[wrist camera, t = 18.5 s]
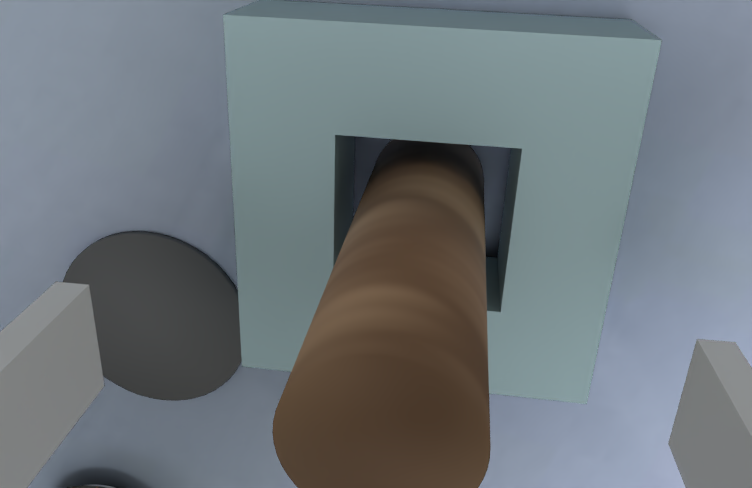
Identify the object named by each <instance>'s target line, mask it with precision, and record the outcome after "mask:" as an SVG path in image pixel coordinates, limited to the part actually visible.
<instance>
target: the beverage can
mask: <svg viewBox="0 0 752 488" xmlns="http://www.w3.org/2000/svg"><path fill="white" fill-rule="evenodd" d="M67 488H115V487H111V486H106V485H84V486H73V487H67Z"/></svg>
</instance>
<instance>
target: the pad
mask: <svg viewBox="0 0 752 488" xmlns="http://www.w3.org/2000/svg"><path fill="white" fill-rule="evenodd" d="M63 282H65V283H76V284H87V285H89V288H90V295H91V301H92V308H93V314H94V321H95V327H96V334H97V340H98V347H99V353H100V360H101V366H102V373H103V376H104V377H106V378H107V379H109V380H110V381H112V382H113V383H115V384H116V385H118V386H120V387H122V388H124V389H126V390H128V391H131V392H133V393H136V394H139V395H142V396H146V397H149V398H154V399H160V400H186V399H192V398H197V397H200V396H203V395H206V394H208V393H210V392H212V391H214V390H216V389H217V388H219V387H220V386H222V385H223V384H224V383H225V382H227V381H228V380H229V379H230V378H231V376H232V375H233V374H234V373H235V371H236V370H237V368H238V366H239V365H240V363H241V361H242V358H241V339H240V321H239V302H238V291H237V290H236V288H235V286H234V284H233V283H232V282H231V280H230V279H229V278H228V276H227V275H226V274H225V273H224V272H223V271H222V270H221V268H220V267H219V266H218V265H217V264H216V263H214V262H213V261H212V260H211V259H210V258H209V257H207V256H206V255H205V254H203V253H202V252H200V251H199V250H197V249H196V248H194V247H192V246H190V245H188V244H186V243H184V242H182V241H180V240H177V239H175V238H172V237H169V236H165V235H161V234H157V233H150V232H135V231H133V232H123V233H118V234H114V235H110V236H107V237H105V238H102V239H100V240H98V241H96V242H95V243H93V244H91V245H90V246H89V247H88V248H86V249H85V250H84V251H83V252H82V253H81V254H79V255H78V256H77V258H76V259H75V260H74V261H73V262H72V264H71V265H70V267H69V269H68V271H67V272H66V275H65V278H64V280H63Z"/></svg>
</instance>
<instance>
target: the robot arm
mask: <svg viewBox="0 0 752 488" xmlns="http://www.w3.org/2000/svg"><path fill="white" fill-rule="evenodd" d="M104 386H105V385H104V379H103V373H102V366H101V360H100V353H99V347H98V340H97V334H96V327H95V321H94V314H93V308H92V301H91V295H90V288H89V285H87V284H76V283H65V282H55V283H54V284H53V285H52V286H51V287H50V288H49V289H47V290H46V291H45V292H44V293H43V294H42V295H41V296H40V297H39V298H37V299H36V300H35V301H34V302H33V303H32V304H31V305H30V306H29V307H27V308H26V309H25V310H24V311H23V312H22V313H21V314H20V315H19V316H17V317H16V318H15V319H14V320H13V321H12V322H11V323H10V324H8V325H7V326H6V327H5V328H4V329H3V330H2V331H1V332H0V488H27V487H28V486H29V485H30V483H31V482H32V481H33V479H34V478H35V477H36V475H37V474H38V473H39V472H40V470H41V469H42V468H43V466H44V465H45V464H46V462H47V461H48V460H49V458H50V457H51V456H52V454H53V453H54V452H55V450H56V449H57V448H58V447H59V445H60V444H61V443H62V441H63V440H64V439H65V437H66V436H67V435H68V433H69V432H70V431H71V429H72V428H73V427H74V426H75V424H76V423H77V422H78V420H79V419H80V418H81V416H82V415H83V414H84V412H85V411H86V410H87V408H88V407H89V406H90V405H91V403H92V402H93V401H94V399H95V398H96V397H97V395H98V394H99V393H100V391H101V390H102V389H103V387H104ZM668 444H669V446H670V449H671V451H672V454H673V456H674V459H675V462H676V464H677V467H678V469H679V472H680V474H681V477H682V479H683V482H684V484H685V487H686V488H752V368H751V366H750V364H749V363H748V361H747V360H746V358H745V357H744V355H743V354H742V352H741V351H740V349H739V347H738V346H737V344H736V343H735V342H725V341H714V340H703V339H697V341H696V344H695V348H694V352H693V355H692V359H691V362H690V366H689V370H688V373H687V377H686V381H685V384H684V388H683V392H682V395H681V399H680V403H679V406H678V410H677V414H676V417H675V421H674V424H673V428H672V432H671V435H670V439H669V443H668Z"/></svg>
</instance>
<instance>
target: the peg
mask: <svg viewBox="0 0 752 488" xmlns="http://www.w3.org/2000/svg"><path fill="white" fill-rule="evenodd" d="M273 440H274V446H275V449H276V453H277V456H278V458H279V460H280V463H281V465H282V467H283V468H284V470H285V472H286V473H287V475H288V476H289V478H290V479H291V480H292V481H293V483H294V484H295V485H296V486H297V487H298V488H478V487H479V485H480V484H481V482H482V480H483V478H484V476H485V474H486V471H487V468H488V464H489V459H490V414H489V374H488V334H487V294H486V254H485V214H484V178H483V171H482V167H481V164H480V161H479V159H478V157H477V155H476V154H475V152H474V151H473V150H472V148H471V147H470V146H469V145H465V144H452V143H438V142H425V141H412V140H398V139H393V140H392V141H390V142H389V143H388V144H387V145H386V146H385V148H384V149H383V150H382V152H381V153H380V155H379V157H378V159H377V161H376V164H375V166H374V169H373V171H372V173H371V176H370V178H369V181H368V183H367V186H366V188H365V191H364V193H363V196H362V198H361V201H360V203H359V206H358V208H357V211H356V213H355V216H354V218H353V220H352V223H351V225H350V228H349V230H348V233H347V235H346V238H345V240H344V243H343V245H342V248H341V250H340V253H339V255H338V258H337V260H336V263H335V265H334V267H333V270H332V272H331V275H330V277H329V280H328V282H327V285H326V287H325V290H324V292H323V295H322V297H321V300H320V302H319V305H318V307H317V310H316V312H315V314H314V317H313V319H312V322H311V324H310V327H309V329H308V332H307V334H306V337H305V339H304V342H303V344H302V347H301V349H300V352H299V354H298V356H297V359H296V361H295V364H294V366H293V369H292V371H291V374H290V376H289V379H288V381H287V384H286V386H285V389H284V391H283V394H282V396H281V399H280V401H279V403H278V406H277V408H276V411H275V416H274V420H273Z"/></svg>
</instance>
